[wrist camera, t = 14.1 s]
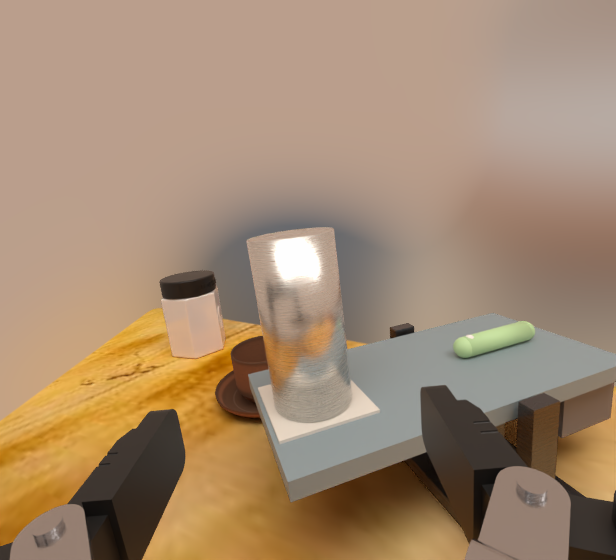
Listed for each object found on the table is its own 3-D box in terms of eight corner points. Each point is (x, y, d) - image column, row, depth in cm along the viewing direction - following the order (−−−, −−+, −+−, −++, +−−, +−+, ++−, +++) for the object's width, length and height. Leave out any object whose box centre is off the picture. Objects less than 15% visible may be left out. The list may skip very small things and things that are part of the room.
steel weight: (258, 404, 23) (229, 242, 21) (312, 371, 27) (292, 228, 24) (314, 434, 20) (287, 242, 17) (367, 391, 23) (351, 226, 21)
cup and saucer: (215, 384, 45) (206, 340, 43) (303, 363, 48) (298, 321, 47) (222, 443, 34) (211, 385, 32) (337, 409, 37) (332, 356, 36)
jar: (223, 355, 53) (210, 278, 50) (168, 363, 52) (151, 286, 50) (228, 333, 62) (217, 267, 59) (180, 340, 61) (167, 273, 58)
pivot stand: (432, 394, 37) (430, 315, 35) (593, 516, 23) (605, 391, 21) (365, 416, 35) (359, 332, 33) (496, 566, 20) (499, 431, 18)
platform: (492, 360, 37) (493, 296, 35) (625, 425, 25) (636, 337, 24) (256, 430, 29) (244, 355, 28) (299, 565, 18) (283, 452, 17)
